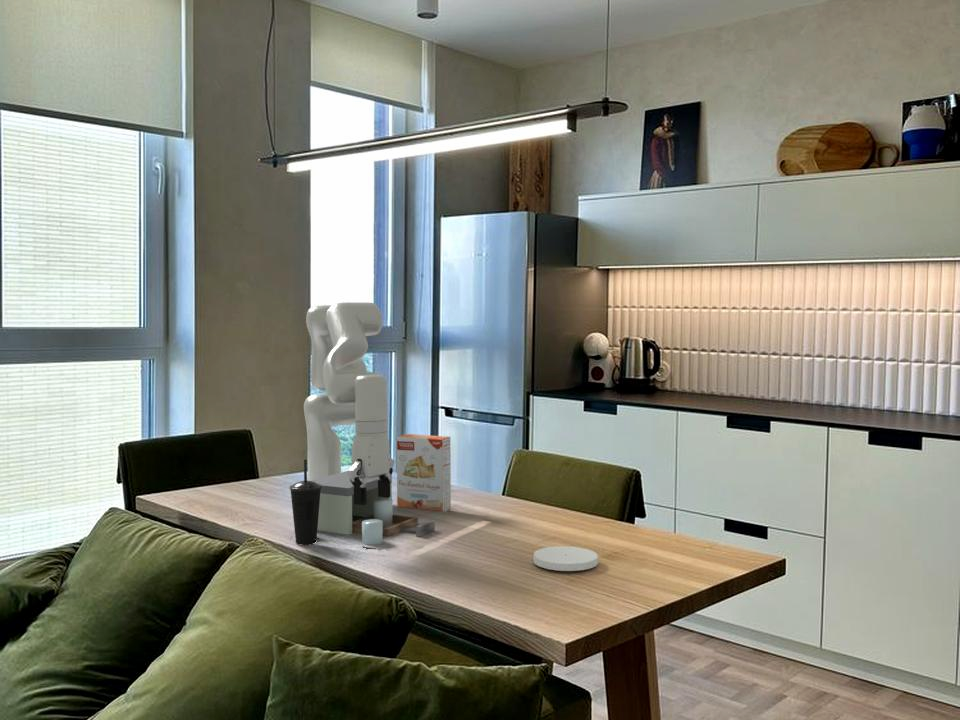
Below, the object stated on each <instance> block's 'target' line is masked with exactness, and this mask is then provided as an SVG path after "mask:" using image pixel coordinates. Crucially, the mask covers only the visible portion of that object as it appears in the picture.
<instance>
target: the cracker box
mask: <svg viewBox="0 0 960 720" xmlns="http://www.w3.org/2000/svg"><path fill="white" fill-rule="evenodd" d="M451 460H452V459H451V436H446V435H445V436H442V435H428V434H414V433H405V434H400V435H398V436H397V437H396V475H397V476H396V486H397V487H396V494H397V495H396V497H397V498H396V500H397V501H396V505H397V507H399V508H406V509H407V508H408V509H419V510H430V511H440V512H447V513H448V512H450V511H451V507H452V505H451V503H452V502H451V501H452V500H451V498H452V494H451V492H452V491H451V489H452V488H451V485H452V484H451V478H452V477H451V475H452V473H451V470H452V468H451V467H452V466H451V464H452V463H451Z"/></svg>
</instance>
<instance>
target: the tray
mask: <svg viewBox="0 0 960 720" xmlns="http://www.w3.org/2000/svg"><path fill="white" fill-rule="evenodd" d="M369 519H374V514H373V515H370V516H367V517H362V518H359V519H356V520H352V533H356V534H362V521H364V520H369ZM435 523H436V521H435V520H428V521H427V522H423V523H421V524H419V517H415V516H408V515H402V514H394V513H393V524H392V525H390V526H383V538H388V537H391V536H393V535H395V534H398V533H400V532H401V533H407V534H415V537H416V538H420V537H423V536H426V535H428V534H430V533H432V532H435V529H436V527H435V525H436V524H435ZM413 527H415V528H413Z"/></svg>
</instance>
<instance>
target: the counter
mask: <svg viewBox="0 0 960 720" xmlns="http://www.w3.org/2000/svg"><path fill="white" fill-rule="evenodd" d="M391 477H392V475H391ZM392 478H393V477H392ZM378 480H380V479H379V477H378V476H376V477H373V478H368V480H367V482H366V484H365V487H366V488H367V504H366V505H357V504H354V487H352V483H351V481H350V477H349V474H348V470H346V471H341V473H338V474H335V475H331V476H327V477H323V478H320V479H316V480H312V481H313V482H316V483H318V484H321V485H322V488H321V491H320V504H319V516H318V529H317V532H318V531H321V532H326V533H333V534H340V535H346V536H348V535H349V536H350V535H352V534H353V532H352V522H353V516H356V517H362V518H365V517H367V516H370V515H373V514H374V500H377V499H391V500H393V495H392V494H393V493H392V490H393V486H392V485H393V484H392V481H393V480H392V479H391V480H389V481H390V497H389V498H385V497H379V496H378ZM360 481H362V479H360Z"/></svg>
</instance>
